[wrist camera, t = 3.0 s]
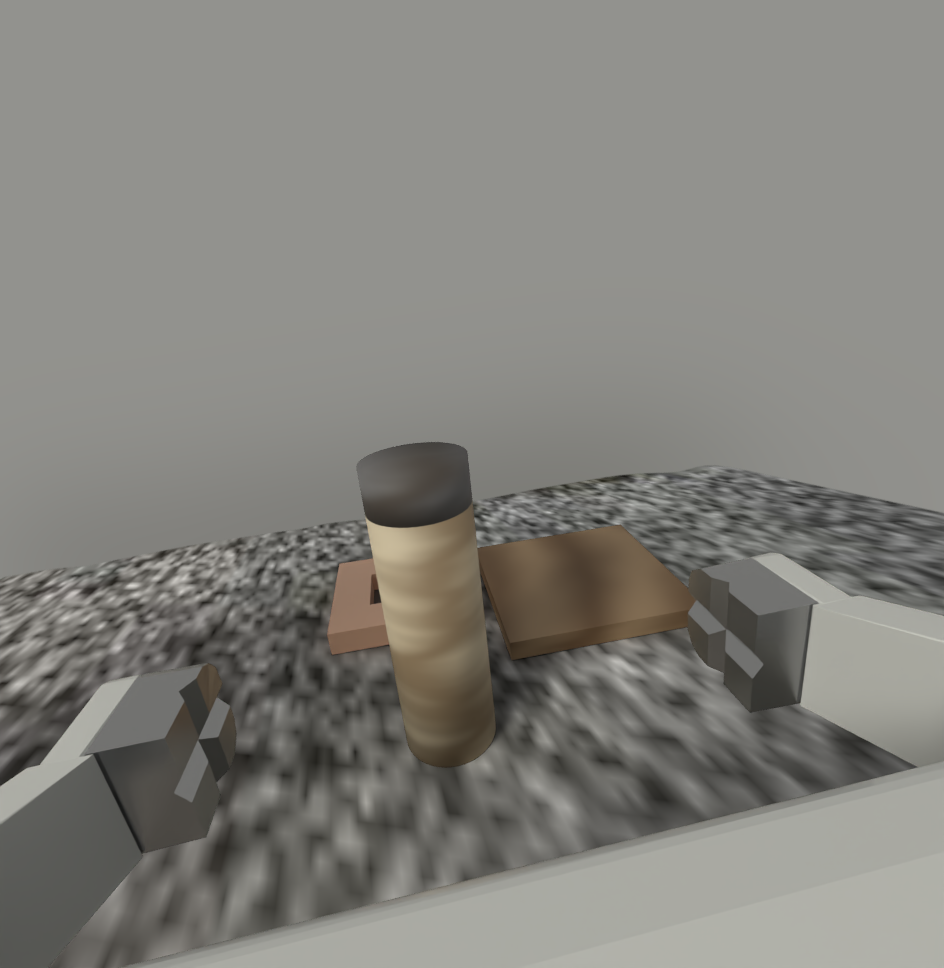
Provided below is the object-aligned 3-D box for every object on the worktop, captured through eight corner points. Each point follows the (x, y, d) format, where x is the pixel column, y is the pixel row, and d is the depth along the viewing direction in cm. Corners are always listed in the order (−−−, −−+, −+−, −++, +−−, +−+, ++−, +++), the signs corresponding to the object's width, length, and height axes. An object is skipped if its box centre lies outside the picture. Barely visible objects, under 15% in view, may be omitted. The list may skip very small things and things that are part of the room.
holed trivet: (331, 654, 31) (327, 634, 31) (343, 580, 40) (339, 563, 39) (475, 628, 32) (473, 608, 32) (457, 561, 41) (455, 545, 40)
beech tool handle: (408, 776, 23) (353, 484, 18) (405, 704, 27) (358, 450, 22) (504, 756, 23) (475, 466, 19) (486, 688, 27) (459, 437, 23)
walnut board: (511, 660, 29) (509, 643, 29) (476, 561, 41) (475, 548, 40) (705, 623, 31) (706, 606, 30) (620, 537, 42) (620, 524, 42)
